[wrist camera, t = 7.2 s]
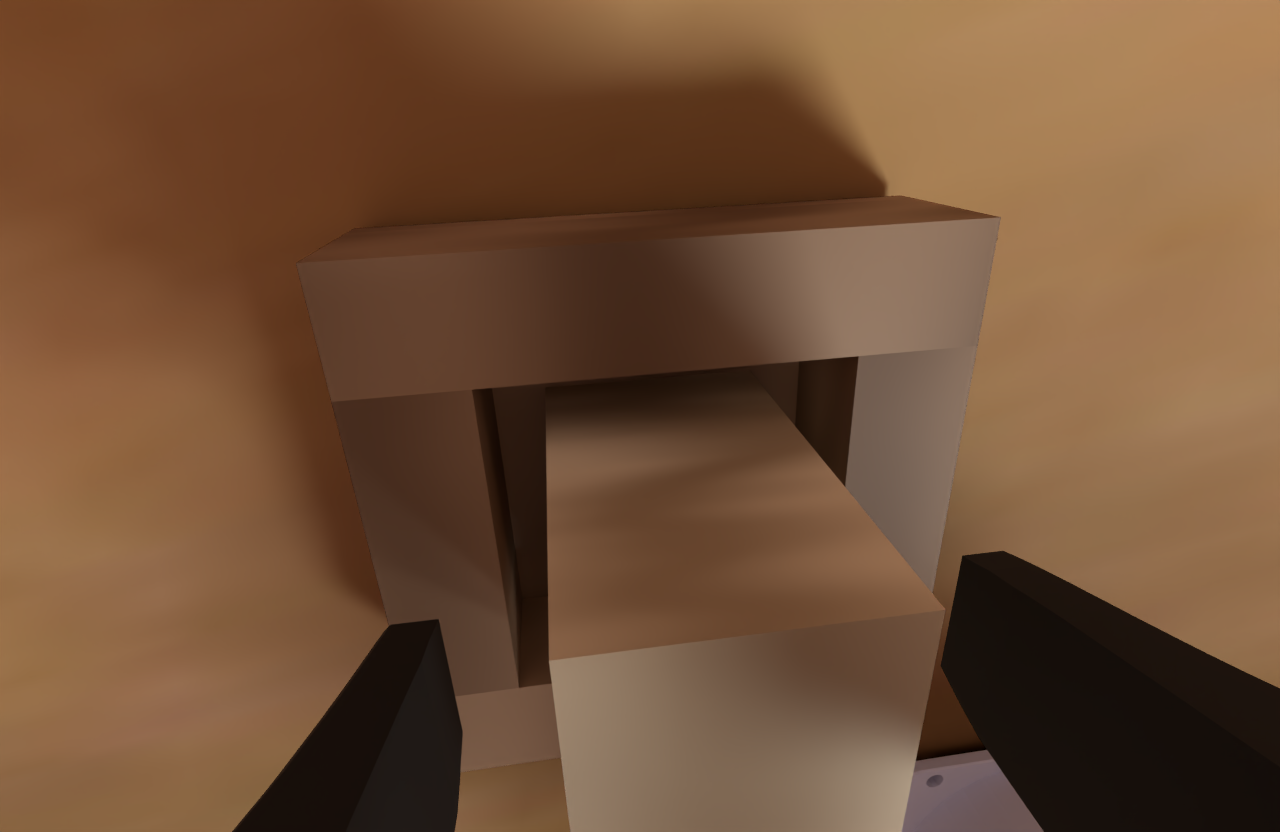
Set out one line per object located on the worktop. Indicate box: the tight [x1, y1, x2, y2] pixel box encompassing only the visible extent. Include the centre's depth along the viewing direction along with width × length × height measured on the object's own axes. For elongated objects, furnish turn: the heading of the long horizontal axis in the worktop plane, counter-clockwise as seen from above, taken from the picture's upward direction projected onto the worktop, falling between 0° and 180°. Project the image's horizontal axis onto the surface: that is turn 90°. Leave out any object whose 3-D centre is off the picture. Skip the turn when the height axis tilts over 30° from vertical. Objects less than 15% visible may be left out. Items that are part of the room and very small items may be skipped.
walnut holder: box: [296, 196, 1001, 772], centre depth 13 cm, size 10×10×3 cm
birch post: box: [545, 370, 945, 832], centre depth 10 cm, size 4×4×7 cm
